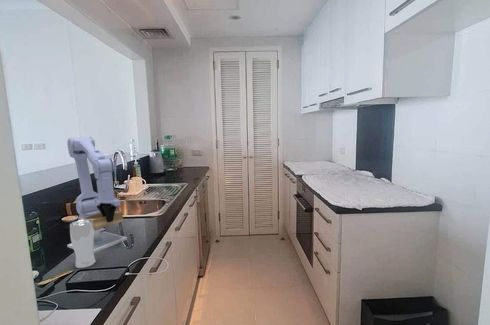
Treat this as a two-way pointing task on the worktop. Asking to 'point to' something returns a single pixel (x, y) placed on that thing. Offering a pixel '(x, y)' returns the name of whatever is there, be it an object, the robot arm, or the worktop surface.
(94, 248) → the post stand
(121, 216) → the wood collar
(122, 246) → the worktop surface
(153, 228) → the worktop surface
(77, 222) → the beer glass
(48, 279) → the worktop surface
